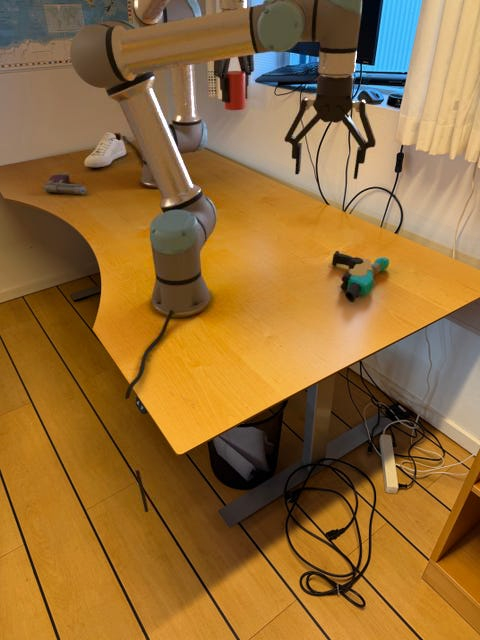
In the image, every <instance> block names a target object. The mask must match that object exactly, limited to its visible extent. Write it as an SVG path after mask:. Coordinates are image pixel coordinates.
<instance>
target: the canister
mask: <svg viewBox="0 0 480 640" xmlns="http://www.w3.org/2000/svg"><path fill="white" fill-rule="evenodd" d="M227 78H229V95H230V103H226V102H224V109H225V110H228V111H242V110H245V109H246V99H245V72H243V71H241V70H228V74H227Z"/></svg>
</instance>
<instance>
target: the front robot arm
mask: <svg viewBox="0 0 480 640" xmlns="http://www.w3.org/2000/svg"><path fill="white" fill-rule="evenodd" d="M362 10H363V0H264V1H263V2H262V4H261V3H260V4H257V5H253V6H247V7H246V8H241V9H236V10H230V11H225V12H222V11H220V12H215V13H211V14H210V13H209V14H205V15H201V16H199V17H194V18H188V19H183V20H178V21H173V22H168V23H162V24H157V25H152V26H147V27H138V26H137V25H135V24H134V23H132V22H130V21H127V20H123V19H122V20H121V19H110V20H107V21H103V22H99V23H93V24H89V25H86V26H83V27H82V28H80V29H79V30H78V31H77V32H76V33H75V35H73V38H72V40H71V43H70V47H69V57H70V61H71V65H72V67H73V70H74V71H75V73H76V74H77V75H78V77H79V78H80V79H81V80H82V81H83V82H85V83H86V84H88V85H90V86H92V87H93V88H94V87H95V88H98V89H104V90H105V91H106V94H107V96H108V98H110V99H112V100H113V101H116V102H117V103H118V104H119V106H120V108H121V111H122V113H123V115H124V117H125V120H126V122H127V123H128V126H129V128H130V130H131V133H132V134H133V137H134V139H135V141H136V144H137V146H138V148H139V150H140V152H141V155H142V154H143V156H144V158H145V161H146V163H147V165H148V167H149V169H150V171H151V174H152V176H153V178H154V180H155V182H156V184H157V187H158V188H157V190H158V191H159V193H160V195H161V199H160V203H159V207H160V209H161V212H162V213H159V214H157V215H156V216H155V217H154V218H153V219H152V221H151V222H150V225H149V241H150V247H151V253H152V260H153V261H152V262H153V268H154V274H155V275H154V276H155V281H154V284H153V290H152V294H151V305H152V308H153V310H154V311H155V312H156V313H157V314H159V315H160V316H163V317H166V318H165V321H164V323H163V326H162V328H161V330H160V332H159V334H158V336H157V337H156V338H155V339H154V340H153V341H152V343H150V345H149V346H148V347H147V348H146V349H145V351H144V353H143V355H142V357H141V360H140V361H141V362H140V366H139V371H138V373H137V375H136V377H135V378H134V379H133V380H132V381H131V382H130V384H129V385H128V386H127V389H126V391H125V395H124V396H125V397H124V399H125V400H128V399H129V398H130V397H131V392H132V390H133V388H134V386H135V385H136V384H137V383H138V382H139V381H140V379H141V378H142V376H143V374H144V370H145V366H146V360H147V357H148V355H149V353H150V352H151V350H152V349H153V348H154V347H155V346H156V345H157V344H158V343H159V341H160V340H161V339H162V338H163V336H164V334H165V333H166V330H167V328H168V325H169V323H170V320H171V319H183V318H185V319H186V318H190V317H194V316H196V315H199V314H201V313H202V312H204V311H205V310H207V308H208V307H209V306H210V303H211V294H210V293H211V292H210V290H209V288H208V286H207V284H206V281H205V278H204V277H203V275H202V262H201V261H202V259H201V253H202V250H203V247H204V246H205V245H206V243H207V241H208V239H209V238H210V236H211V235H212V233H213V232H214V230H215V228H216V223H217V219H218V213H217V208H216V206H215V204H214V202H213V201H212V200H211V199H210V198H209V197H208V196H206V195H204V192H203V190H202V188H201V186H199V185H196V184H195V183H193V181H192V179H191V176H190V174H189V172H188V169H187V167H186V165H185V162H184V160H183V157H182V154H180V153H179V150H178V148H177V145H176V143H175V141H174V138H173V136H172V134H171V131H170V129H169V126H168V124H169V123H168V124H167V122H168V121H167V120H166V117H165V115H164V112H163V111H162V107H161V106H160V103H159V100H158V98H157V96H156V94H155V91H154V87H153V86H154V83H155V80H156V76H155V74H154V72H157V71H162V70H168V69H172V68H175V67H181V66H187V65H192V64H194V65H197V64H203V63H209V62H210V63H211V62H214V61H216V60H222V59H228V58H231V59H234V58H238V57H240V56H245V55H251V54H253V55H257V54H264V53H271V52H272V53H283V52H287V51H290V50H291V49H293V48H294V47H295V46H296V45H297V44H298V43H307V42H308V43H309V42H310V43H311V42H312V43H316V42H318V43H319V44H320V45H319V51H318V52H319V53H318V67H317V72H318V73H319V75H318V76H317V78H316V79H317V81H316V93H315V98H314V99H312V98H311V99H310V98H308V97H306V96H304V97H303V98H302V99H301V101H300V105H299V110H298V112H297V115H296V116H295V118H294V120H293V122H292V124H291V125H290V127H289V128H288V131H287V133H286V135H285V137H284V142H285V143H289V144H291V159H292V160H295V169H294V170H295V171H294V172H295V173H294V174H295V175H300V172H301V165H302V163H301V161H302V148H303V143H302V142H300V141H301V140H303V139H304V138H305V136H306V135H307V134H308V133H309V132H310V131H311V130H312V129H313V128H314V126H316V125H317V123H319V121H320V120H321V121H322V122H323V123H334V124H339V123H340V122H342V123H343V125H344V126H345V127H346V128H347V130H348V131H349V133H350V134H351V136H352V138H353V139H354V141H355V142H356V143H357V145H358V146H357V150H356V155H355V156H356V157H355V164H354V173H353V179H354V180H357V179H358V175H359V167H360V165H361V164H362V165H364V164H365V162H366V161H365V160H366V154H367V150H368V149H370V148H375V147H376V142H377V141H376V138H375V135H374V132H373V128H372V125H371V123H370V120H369V117H368V113H367V111H366V109H367V107H366V105H367V101H366V100H365V99H361V100H358V101H353V97H352V95H353V88H354V76H353V74H354V73H355V72H356V71H355V70H356V60H357V54H358V52H357V50H358V43H359V36H360V28H361V20H362V13H363V12H362ZM311 107H313V109H314V110H315V112H316V114H315V115H314V116H313V117H312V118H311V119H310V120H309V121H308V122H307V124H306V125H305V126H304V127H303V128H302V130H300V131H299V133H298V134H297V135H296V136H294V134H295V131H296V130H297V128H298V127H299V124H300V122H301V121H302V119H303V117H304V116H305V113H306V112H307V111H309V110H310V108H311ZM352 109H354V110H355V112H356V113H358V114H359V119H360V121H361V124H362V127H363V131H364V133H365V136H366V139H367V140H366V139H365V137H364V136H363V135H362V133H361V132H360V130H359V129H358V127H357V126H356V124H355V123H354V121H353V120H352V118H351V115H350V114H349V113H350V112H351V110H352ZM166 121H167V122H166ZM134 471H135V475H136V476H135V477H136V479H137V483H138V487H139V493H140V495H141V499H142V503H143V508H144V513H148V512H149V508H148V502H147V497H146V493H145V490H144V489H145V488H144V484H143V480H142V475H141V471H140V470H139V469H138V470H136V469H135V470H134Z"/></svg>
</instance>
